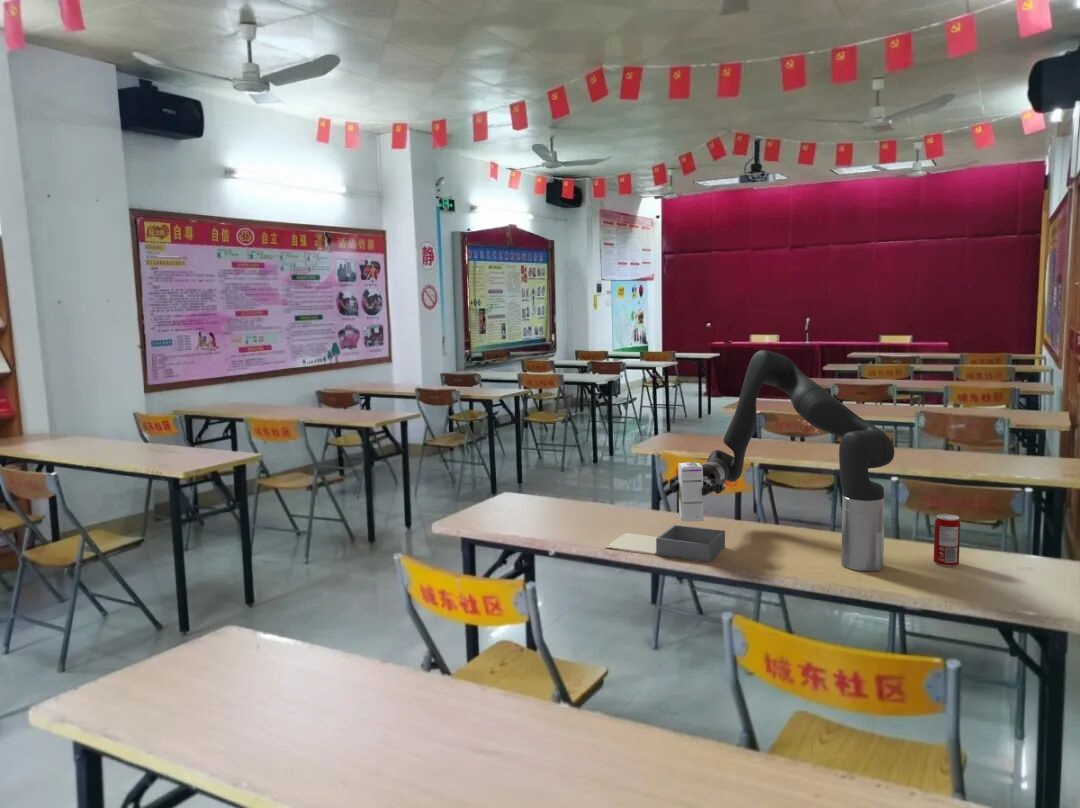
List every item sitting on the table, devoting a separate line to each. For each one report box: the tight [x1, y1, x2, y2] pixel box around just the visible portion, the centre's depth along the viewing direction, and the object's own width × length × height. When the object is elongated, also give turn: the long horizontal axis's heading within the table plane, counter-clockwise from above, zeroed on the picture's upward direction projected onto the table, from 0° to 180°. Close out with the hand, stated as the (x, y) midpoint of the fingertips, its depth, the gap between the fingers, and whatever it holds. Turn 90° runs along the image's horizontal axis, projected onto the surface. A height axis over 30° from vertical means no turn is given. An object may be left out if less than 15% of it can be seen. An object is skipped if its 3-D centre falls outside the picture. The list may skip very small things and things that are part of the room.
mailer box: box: [605, 524, 726, 563], centre depth 210 cm, size 28×14×4 cm, turn 61°
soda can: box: [933, 513, 961, 567], centre depth 191 cm, size 6×6×12 cm
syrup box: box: [677, 461, 705, 523], centre depth 205 cm, size 6×6×14 cm
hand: (688, 490), depth 203 cm, fingers closed on syrup box, 7 cm apart
